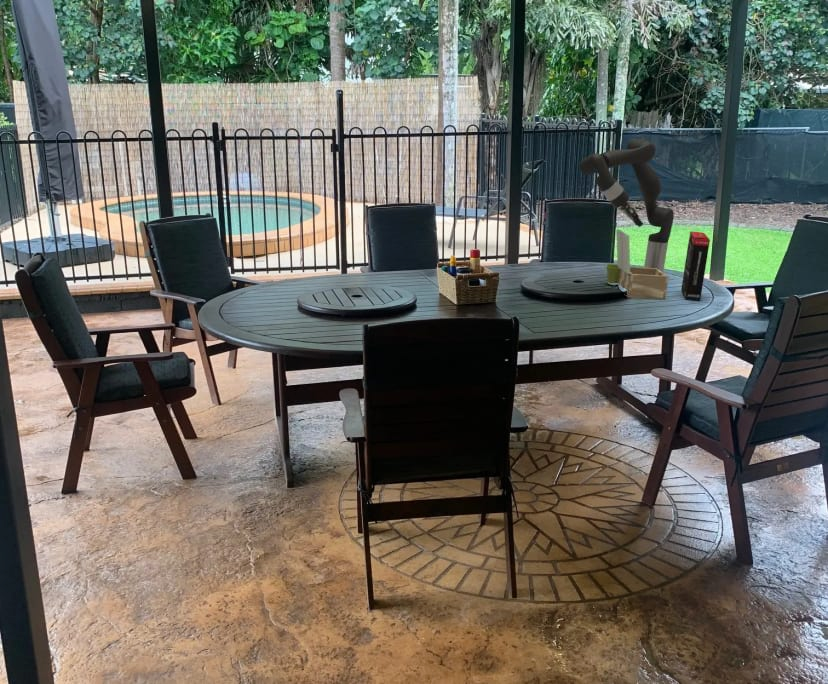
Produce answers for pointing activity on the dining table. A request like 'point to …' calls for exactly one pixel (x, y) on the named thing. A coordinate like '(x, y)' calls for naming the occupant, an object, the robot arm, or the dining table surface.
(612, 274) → the plant pot
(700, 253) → the graphics card box
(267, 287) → the dining table surface
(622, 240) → the box lid
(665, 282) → the plywood box
